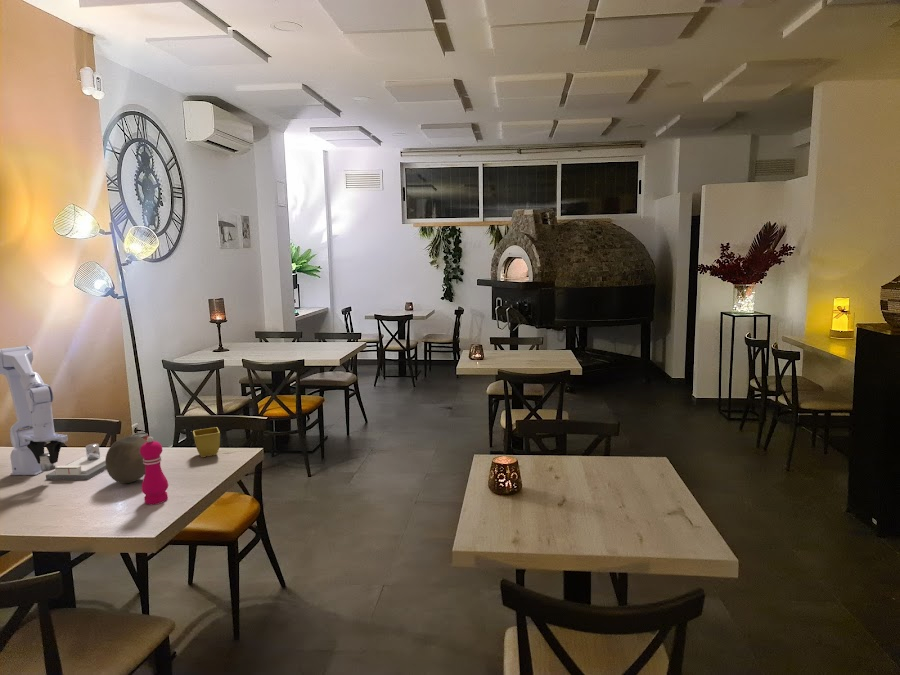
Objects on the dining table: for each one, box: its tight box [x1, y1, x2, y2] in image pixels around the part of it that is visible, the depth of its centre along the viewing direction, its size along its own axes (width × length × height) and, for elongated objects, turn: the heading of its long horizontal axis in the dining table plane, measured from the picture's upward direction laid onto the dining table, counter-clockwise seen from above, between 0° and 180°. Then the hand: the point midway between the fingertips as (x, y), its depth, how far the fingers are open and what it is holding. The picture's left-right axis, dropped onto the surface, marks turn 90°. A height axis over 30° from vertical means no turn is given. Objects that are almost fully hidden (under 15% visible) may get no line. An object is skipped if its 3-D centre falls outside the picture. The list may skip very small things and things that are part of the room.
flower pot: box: [192, 426, 221, 458], centre depth 220 cm, size 9×9×9 cm
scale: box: [45, 456, 107, 480], centre depth 208 cm, size 15×17×4 cm
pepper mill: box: [140, 436, 169, 505], centre depth 179 cm, size 7×7×20 cm
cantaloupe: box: [105, 435, 147, 484], centre depth 195 cm, size 14×14×15 cm
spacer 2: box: [85, 443, 101, 461], centre depth 212 cm, size 4×4×5 cm
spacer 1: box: [39, 452, 57, 472], centre depth 196 cm, size 4×4×5 cm
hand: (47, 462), depth 196 cm, fingers closed on spacer 1, 4 cm apart
